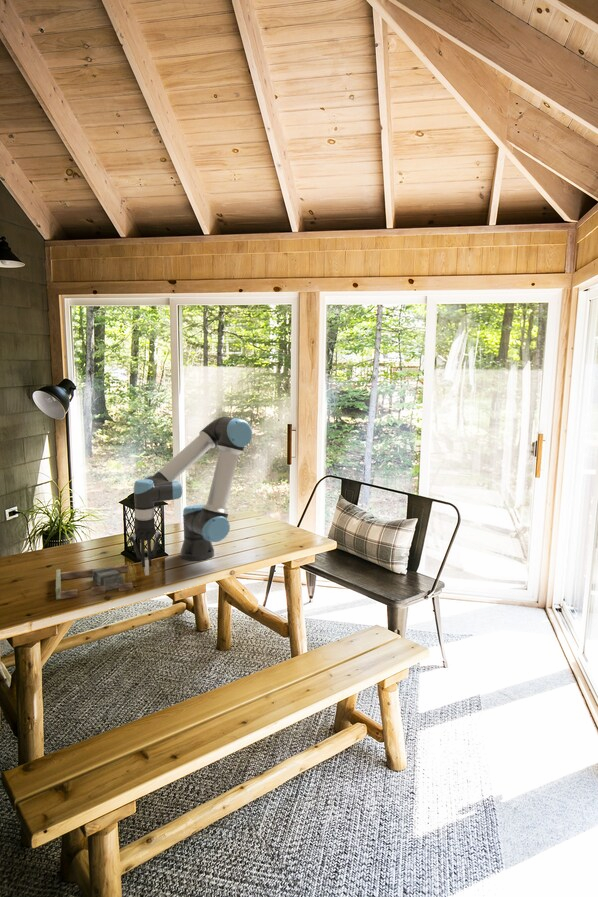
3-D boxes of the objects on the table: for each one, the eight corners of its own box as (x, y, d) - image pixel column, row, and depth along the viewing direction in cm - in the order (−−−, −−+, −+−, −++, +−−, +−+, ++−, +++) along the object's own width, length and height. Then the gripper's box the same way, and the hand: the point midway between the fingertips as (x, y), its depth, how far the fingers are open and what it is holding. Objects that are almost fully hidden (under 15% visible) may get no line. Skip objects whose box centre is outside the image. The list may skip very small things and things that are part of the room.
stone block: (114, 576, 253) (114, 564, 252) (126, 587, 241) (126, 574, 240) (92, 581, 248) (92, 568, 247) (104, 591, 236) (103, 578, 235)
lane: (126, 570, 259) (126, 561, 258) (132, 589, 238) (132, 579, 237) (56, 579, 249) (56, 569, 249) (56, 599, 228) (55, 589, 227)
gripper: (159, 514, 253) (161, 569, 256) (127, 517, 248) (129, 573, 252) (162, 518, 246) (164, 575, 249) (129, 521, 241) (131, 579, 245)
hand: (146, 574), depth 250 cm, fingers closed
